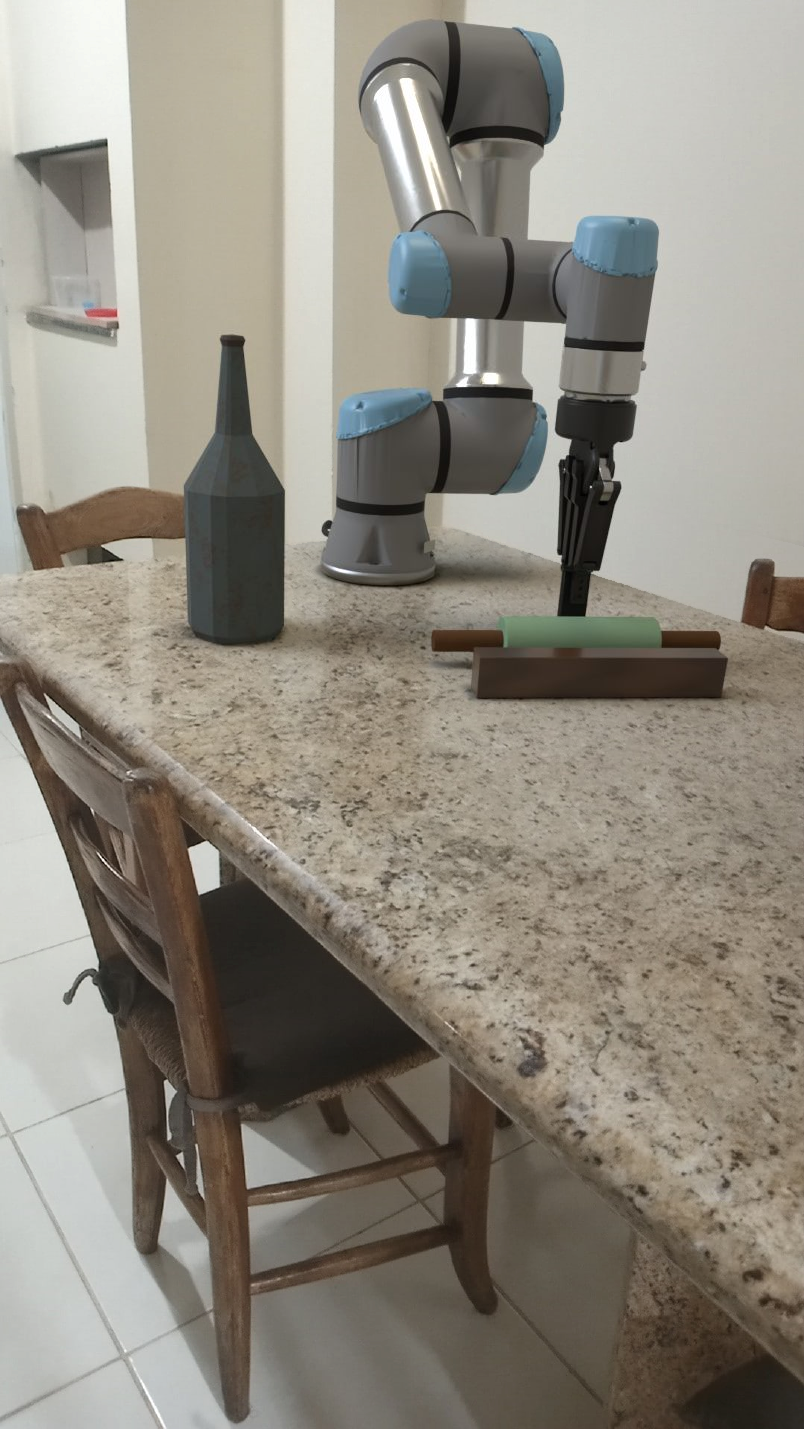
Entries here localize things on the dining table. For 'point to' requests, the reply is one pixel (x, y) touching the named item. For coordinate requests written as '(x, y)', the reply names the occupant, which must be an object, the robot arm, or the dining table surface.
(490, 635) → the rolling pin
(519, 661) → the bar
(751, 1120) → the dining table surface
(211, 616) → the bottle
